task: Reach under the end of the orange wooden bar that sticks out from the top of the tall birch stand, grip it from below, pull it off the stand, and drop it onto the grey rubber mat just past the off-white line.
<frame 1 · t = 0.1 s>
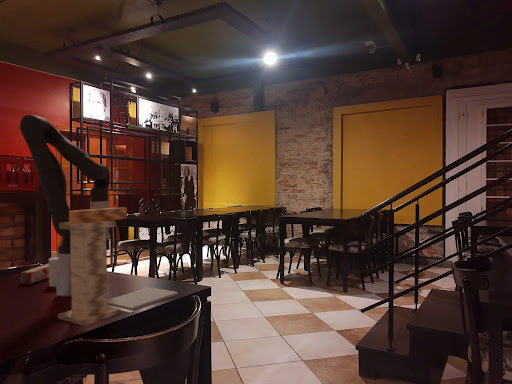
hand: (102, 251, 159), 17 cm above the table, tool pointing down, fingers open, 8 cm apart
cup: (59, 284, 176), on the table
mat: (141, 299, 150), on the table
snack package: (42, 280, 186), on the table
bar: (99, 220, 135), point 32 cm above the table, touching stand
stand: (90, 315, 131), on the table
line: (113, 308, 139), on the table
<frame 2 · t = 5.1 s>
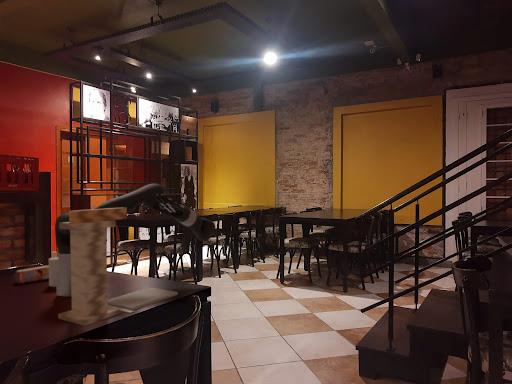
hand: (158, 196, 159), 40 cm above the table, tool pointing upward, fingers closed
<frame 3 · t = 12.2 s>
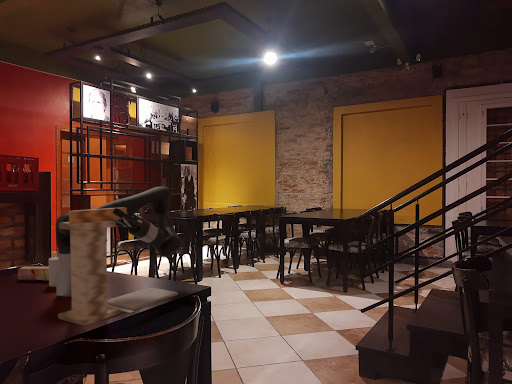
hand: (110, 210, 138), 35 cm above the table, tool pointing upward, fingers closed on bar, 4 cm apart
bar: (99, 220, 135), point 32 cm above the table, touching gripper, stand
when the fingers open (26 cm above the table, at t = 19.5 s): bar drops 22 cm, resting on mat.
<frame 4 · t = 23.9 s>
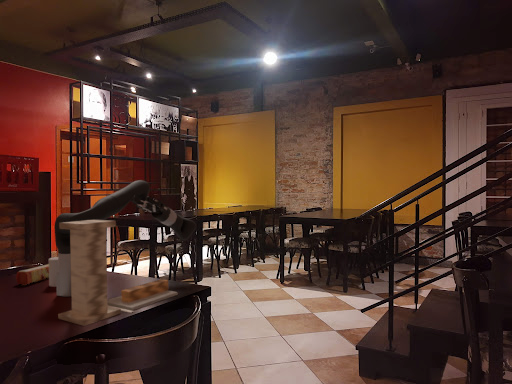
hand: (140, 198, 165), 39 cm above the table, tool pointing upward, fingers open, 8 cm apart
bar: (146, 295, 152), point 1 cm above the table, touching mat
at the end: bar inside the target area (1.4 cm from its centre), point 1.0 cm above the table; the gripper is holding nothing; bar touching mat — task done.
